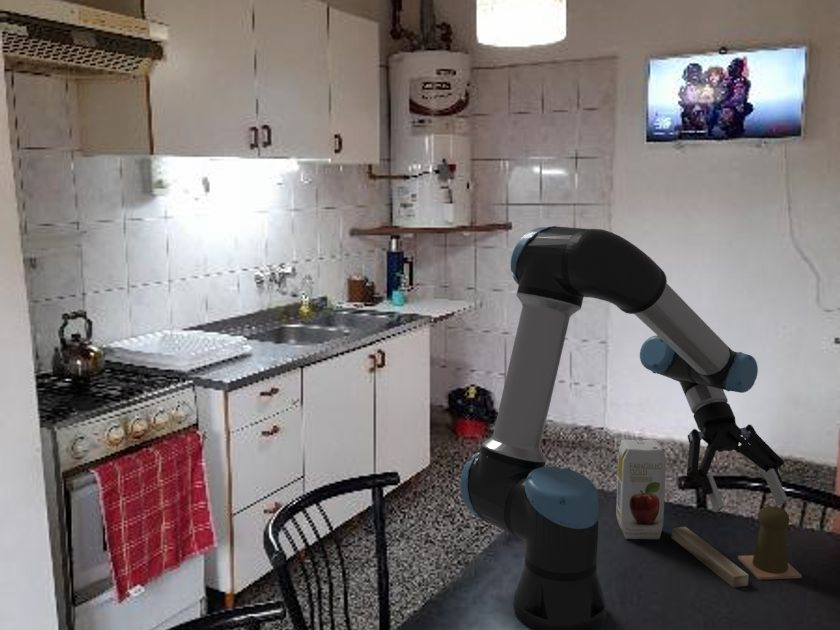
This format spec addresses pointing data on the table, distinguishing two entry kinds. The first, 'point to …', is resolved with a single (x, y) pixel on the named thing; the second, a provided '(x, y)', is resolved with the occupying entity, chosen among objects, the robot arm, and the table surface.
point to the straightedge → (710, 557)
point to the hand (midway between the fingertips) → (751, 506)
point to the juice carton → (641, 489)
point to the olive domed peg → (772, 540)
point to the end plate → (766, 575)
